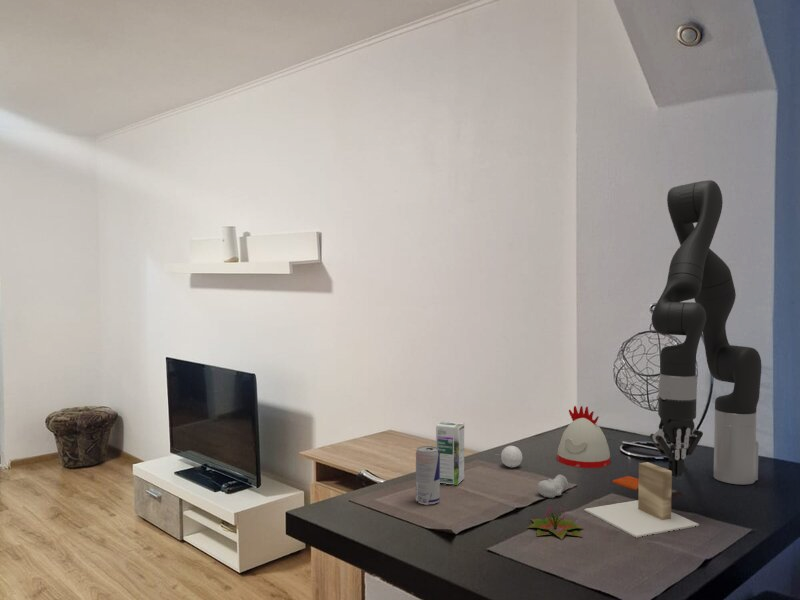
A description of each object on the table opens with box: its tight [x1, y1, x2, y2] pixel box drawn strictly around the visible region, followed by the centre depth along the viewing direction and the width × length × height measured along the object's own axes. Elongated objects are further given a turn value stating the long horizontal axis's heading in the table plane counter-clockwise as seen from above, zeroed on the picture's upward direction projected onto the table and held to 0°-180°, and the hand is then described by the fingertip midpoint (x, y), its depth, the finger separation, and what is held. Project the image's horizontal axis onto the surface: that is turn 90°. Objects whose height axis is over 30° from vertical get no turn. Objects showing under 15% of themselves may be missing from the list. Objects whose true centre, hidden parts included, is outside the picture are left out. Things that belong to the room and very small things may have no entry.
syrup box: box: [435, 420, 465, 486], centre depth 165 cm, size 6×6×14 cm
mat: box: [583, 499, 700, 539], centre depth 141 cm, size 16×16×1 cm
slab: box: [637, 461, 673, 520], centre depth 142 cm, size 2×7×10 cm, turn 22°
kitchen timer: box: [557, 405, 611, 469], centre depth 184 cm, size 14×14×15 cm
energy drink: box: [415, 445, 441, 504], centre depth 151 cm, size 5×5×12 cm
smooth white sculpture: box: [537, 474, 569, 499], centre depth 156 cm, size 4×8×5 cm
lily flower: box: [526, 506, 585, 540], centre depth 135 cm, size 12×12×5 cm
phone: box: [611, 475, 682, 499], centre depth 161 cm, size 6×1×15 cm
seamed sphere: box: [496, 445, 523, 469], centre depth 179 cm, size 8×6×6 cm
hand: (675, 475), depth 144 cm, fingers closed
